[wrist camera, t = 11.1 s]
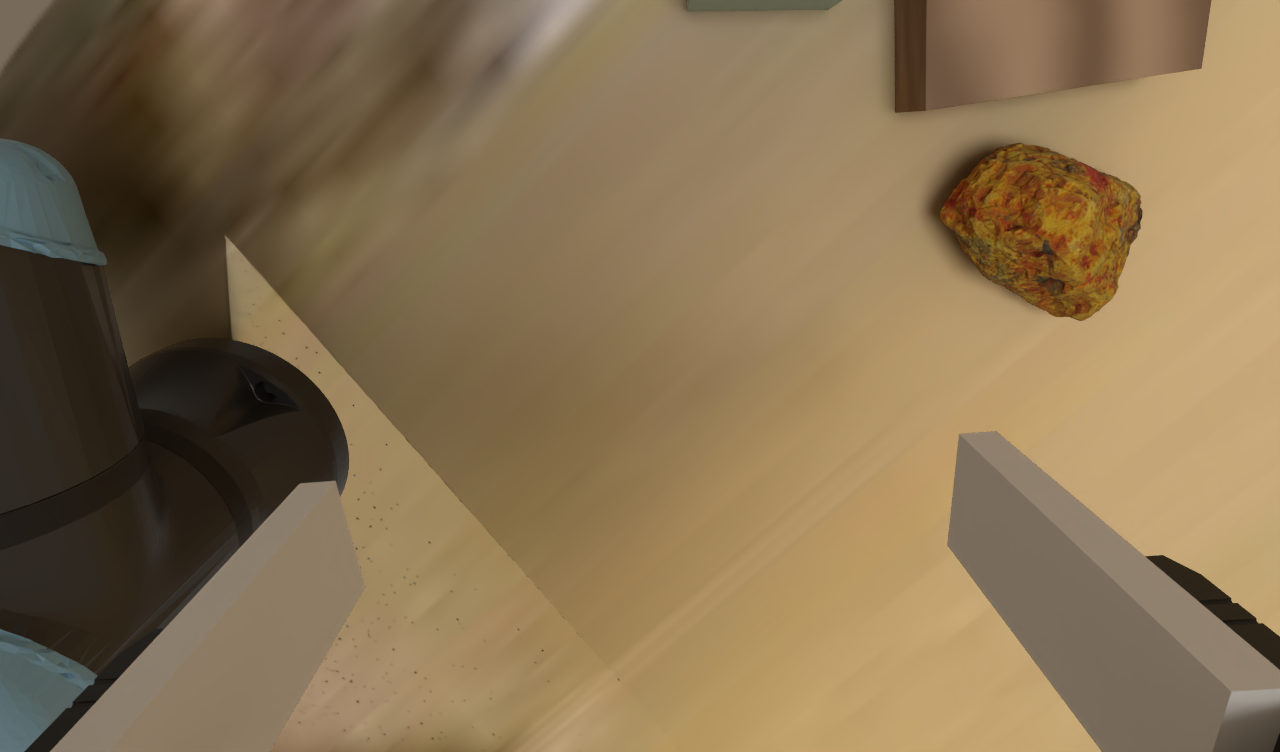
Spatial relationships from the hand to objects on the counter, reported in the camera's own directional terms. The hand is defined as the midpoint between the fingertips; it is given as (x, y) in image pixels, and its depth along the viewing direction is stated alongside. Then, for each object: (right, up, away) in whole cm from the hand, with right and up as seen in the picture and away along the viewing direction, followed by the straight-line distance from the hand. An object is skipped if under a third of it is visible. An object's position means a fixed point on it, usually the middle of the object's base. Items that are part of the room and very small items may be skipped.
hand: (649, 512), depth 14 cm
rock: (+20, +14, +27) cm, 36 cm away
